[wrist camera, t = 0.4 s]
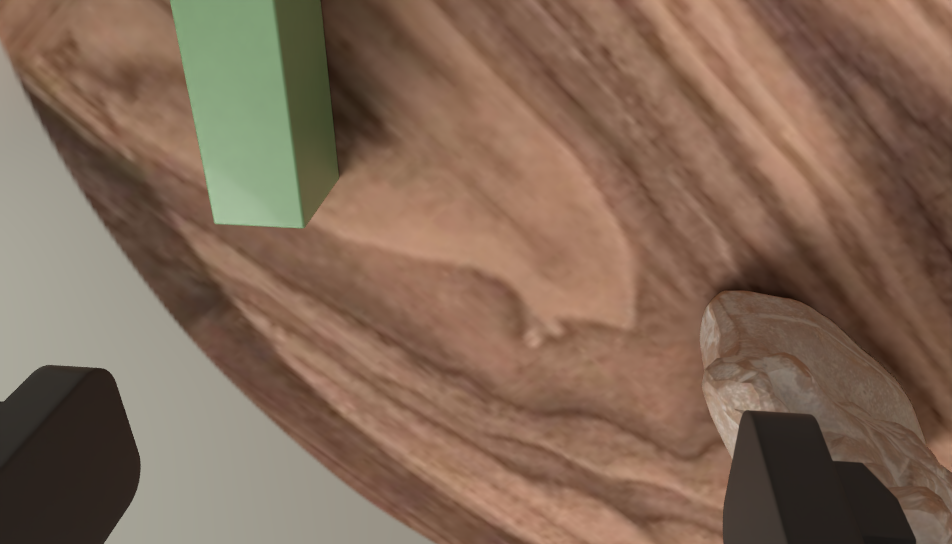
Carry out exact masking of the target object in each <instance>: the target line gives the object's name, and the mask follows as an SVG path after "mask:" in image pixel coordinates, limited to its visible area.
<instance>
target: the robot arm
mask: <svg viewBox="0 0 952 544" xmlns="http://www.w3.org/2000/svg"><path fill="white" fill-rule="evenodd" d="M139 478H140V456H139V452H138V449H137V446H136V443H135V440H134V437H133V434H132V431H131V428H130V424H129V421H128V418H127V415H126V412H125V409H124V406H123V403H122V400H121V397H120V394H119V391H118V387H117V384H116V382H115V379H114V377H113V376H112V374H111V373H110V372H109V371H107V370H105V369H102V368H89V367H73V366H56V365H46V366H43V367H41V368H39V369H37V370H36V371H34V372H33V373H32V374H31V375H30V376H29V377H28V378H27V379H26V380H25V381H24V382H23V383H22V384H21V385H20V386H19V387H18V388H17V389H16V390H15V391H14V392H13V393H12V394H11V395H10V396H9V397H8V398H7V399H6V400H5V401H4V402H0V544H104V542H105V541H106V539H107V538H108V536H109V535H110V533H111V532H112V530H113V529H114V527H115V526H116V524H117V523H118V521H119V520H120V518H121V517H122V516H123V514H124V512H125V511H126V510H127V508H128V507H129V505H130V503H131V502H132V500H133V498H134V495H135V493H136V490H137V487H138V483H139ZM723 543H724V544H916V538H915V536H914V534H913V531H912V529H911V527H910V525H909V523H908V520H907V518H906V516H905V514H904V512H903V510H902V507H901V505H900V503H899V501H898V499H897V498H896V497H895V496H894V495H893V494H892V493H891V492H890V491H889V490H888V489H887V488H886V486H885V485H884V484H883V483H882V482H881V481H880V480H879V479H878V478H877V477H876V476H875V475H874V474H873V473H872V472H871V471H870V470H869V469H868V468H867V467H866V466H865V465H864V464H863V463H860V462H845V461H833V460H832V458H831V455H830V452H829V450H828V447H827V445H826V442H825V439H824V437H823V434H822V432H821V429H820V426H819V424H818V422H817V420H816V418H815V417H814V416H813V415H811V414H802V413H785V412H769V411H753V410H746V411H744V413H743V414H742V417H741V420H740V424H739V429H738V434H737V439H736V444H735V449H734V455H733V460H732V465H731V470H730V475H729V480H728V485H727V490H726V496H725V501H724V509H723Z"/></svg>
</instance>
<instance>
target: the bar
mask: <svg viewBox="0 0 952 544" xmlns="http://www.w3.org/2000/svg"><path fill="white" fill-rule="evenodd" d="M170 3H171V8H172V13H173V18H174V23H175V28H176V33H177V38H178V43H179V48H180V53H181V58H182V63H183V68H184V73H185V78H186V83H187V88H188V93H189V98H190V103H191V108H192V113H193V118H194V123H195V128H196V133H197V138H198V143H199V148H200V153H201V158H202V163H203V168H204V174H205V179H206V184H207V189H208V194H209V199H210V204H211V209H212V214H213V219H214V223H215V224H227V225H246V226H266V227H285V228H305V227H306V225H307V224H308V222H309V221H310V220H311V218H312V217H313V215H314V214H315V212H316V211H317V209H318V208H319V207H320V205H321V204H322V202H323V201H324V199H325V198H326V197H327V195H328V194H329V192H330V191H331V189H332V188H333V186H334V185H335V184H336V182H337V181H338V179H339V172H338V163H337V153H336V144H335V134H334V125H333V115H332V105H331V96H330V86H329V77H328V67H327V58H326V48H325V38H324V29H323V19H322V10H321V0H170Z"/></svg>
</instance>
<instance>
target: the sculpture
mask: <svg viewBox="0 0 952 544" xmlns="http://www.w3.org/2000/svg"><path fill="white" fill-rule="evenodd" d="M700 345H701V353H702V361H703V366H704V376H703V381H702V386H701V387H702V390H703V393H704V396H705V399H706V402H707V405H708V408H709V411H710V415H711V417H712V419H713V421H714V423H715V425H716V427H717V429H718V431H719V434H720V436H721V438H722V440H723V442H724V444H725V446H726V448H727V450H728V452H729V454H730V456H731V458H732V460H733V455H734V449H735V444H736V439H737V434H738V429H739V424H740V420H741V417H742V414H743V413H744V411H746V410H753V411H769V412H785V413H802V414H811V415H813V416H814V417H815V418H816V420H817V422H818V424H819V426H820V429H821V432H822V434H823V437H824V439H825V442H826V445H827V447H828V450H829V452H830V455H831V458H832V460H833V461H845V462H860V463H863V464H864V465H865V466H866V467H867V468H868V469H869V470H870V471H871V472H872V473H873V474H874V475H875V476H876V477H877V478H878V479H879V480H880V481H881V482H882V483H883V484H884V485H885V486H886V488H887V489H888V490H889V491H890V492H891V493H892V494H893V495H894V496H895V497H896V498H897V499H898V501H899V503H900V505H901V507H902V510H903V512H904V514H905V516H906V518H907V520H908V523H909V525H910V527H911V529H912V531H913V534H914V536H915V538H916V544H952V472H950V471H949V470H948V469H946V468H945V467H944V466H942V465H940V464H939V462H938V460H937V459H936V457H935V456H934V454H933V453H932V451H931V450H930V449H929V448H928V447H927V446H926V442H925V439H924V436H923V433H922V431H921V428H920V425H919V422H918V419H917V417H916V414H915V411H914V409H913V407H912V405H911V402H910V400H909V399H908V397H907V395H906V394H905V392H904V391H903V389H902V388H901V386H900V385H899V384H898V382H897V381H896V380H895V378H894V377H893V376H892V375H890V374H889V373H888V372H887V371H886V370H885V369H884V368H883V367H882V366H881V365H880V364H879V363H878V362H877V361H876V360H874V359H873V358H872V357H871V356H869V355H868V354H867V353H866V352H864V351H863V350H862V349H861V348H860V347H859V346H858V345H857V344H856V343H855V342H854V341H853V340H852V339H850V338H849V337H848V336H847V335H846V334H845V333H844V332H843V331H842V330H841V329H840V328H839V327H838V326H837V325H836V324H835V323H834V322H833V321H831V320H830V319H829V318H827V317H825V316H823V315H821V314H820V313H818V312H817V311H816V310H814V309H813V308H811V307H809V306H807V305H806V304H804V303H802V302H799V301H796V300H793V299H790V298H782V297H776V296H771V295H766V294H761V293H755V292H750V291H722V292H721V293H719V294H718V295H717V296H715V297H714V298H713V299H712V301H711V302H710V303H709V304H708V306H707V307H706V309H705V312H704V315H703V318H702V323H701V328H700Z"/></svg>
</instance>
